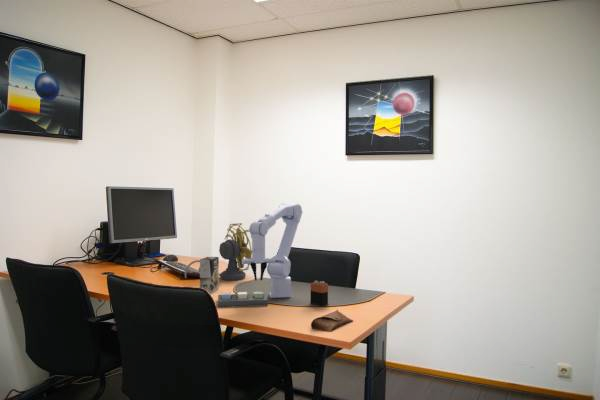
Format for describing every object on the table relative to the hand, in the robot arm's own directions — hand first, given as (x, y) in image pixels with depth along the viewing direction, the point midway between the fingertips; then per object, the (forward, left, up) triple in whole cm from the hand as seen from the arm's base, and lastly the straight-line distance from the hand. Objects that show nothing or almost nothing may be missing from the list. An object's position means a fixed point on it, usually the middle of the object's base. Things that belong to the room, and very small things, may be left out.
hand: (258, 280), depth 213 cm
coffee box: (+22, -25, -10) cm, 35 cm away
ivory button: (+7, 0, -9) cm, 11 cm away
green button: (0, 0, -9) cm, 9 cm away
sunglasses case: (-26, +36, -11) cm, 46 cm away
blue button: (+14, 0, -9) cm, 16 cm away
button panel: (+7, 0, -10) cm, 12 cm away
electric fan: (+17, -52, -10) cm, 56 cm away
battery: (-26, +6, -10) cm, 29 cm away
